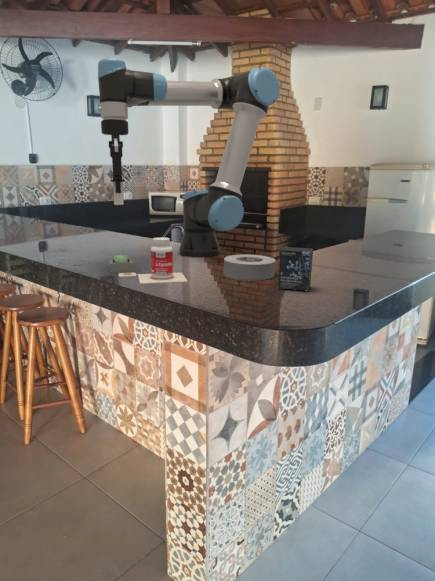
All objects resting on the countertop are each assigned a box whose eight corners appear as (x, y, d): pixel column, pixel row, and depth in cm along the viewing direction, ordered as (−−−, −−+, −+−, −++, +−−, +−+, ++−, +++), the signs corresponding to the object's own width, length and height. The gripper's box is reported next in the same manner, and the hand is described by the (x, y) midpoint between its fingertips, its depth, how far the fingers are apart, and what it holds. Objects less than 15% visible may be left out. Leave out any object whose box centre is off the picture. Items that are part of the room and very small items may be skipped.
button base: (132, 267, 140) (132, 258, 139) (133, 272, 133) (133, 262, 133) (110, 268, 138) (109, 259, 138) (109, 273, 132) (109, 263, 131)
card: (135, 273, 132) (135, 272, 132) (136, 276, 128) (136, 275, 128) (118, 274, 131) (118, 272, 131) (118, 277, 127) (118, 275, 127)
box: (277, 289, 115) (279, 249, 112) (281, 284, 120) (283, 246, 117) (308, 292, 113) (311, 251, 110) (310, 287, 118) (313, 248, 115)
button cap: (127, 267, 138) (127, 254, 137) (128, 269, 134) (127, 256, 133) (114, 267, 137) (114, 254, 136) (114, 270, 133) (114, 257, 132)
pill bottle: (154, 280, 122) (153, 240, 119) (149, 275, 128) (147, 237, 125) (176, 278, 124) (175, 239, 122) (169, 274, 130) (168, 236, 127)
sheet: (181, 273, 133) (181, 272, 133) (187, 281, 122) (187, 280, 122) (137, 275, 130) (137, 273, 130) (140, 284, 119) (140, 282, 119)
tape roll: (285, 275, 132) (286, 259, 131) (252, 284, 121) (252, 266, 120) (246, 268, 142) (246, 252, 141) (212, 275, 132) (212, 258, 131)
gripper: (101, 122, 130) (106, 203, 136) (100, 116, 118) (105, 206, 124) (127, 122, 132) (130, 203, 138) (128, 117, 119) (132, 206, 126)
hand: (118, 204), depth 131 cm, fingers closed
